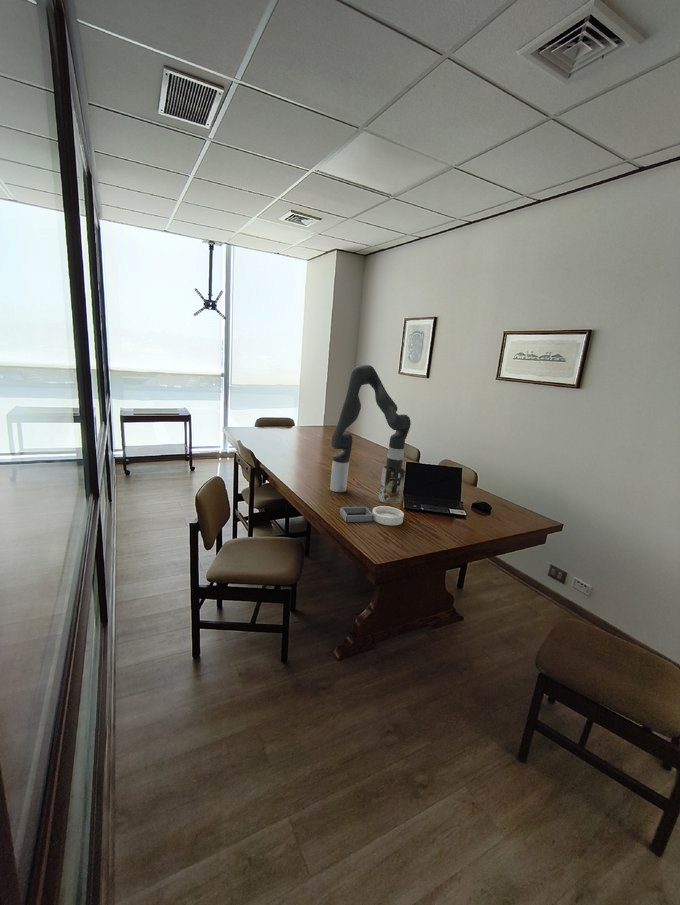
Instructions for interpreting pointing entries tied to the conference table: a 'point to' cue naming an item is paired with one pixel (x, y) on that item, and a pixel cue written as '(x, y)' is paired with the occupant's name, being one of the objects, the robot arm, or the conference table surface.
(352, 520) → the grey rectangular frame
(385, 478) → the coffee box
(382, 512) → the bowl
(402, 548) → the conference table surface
